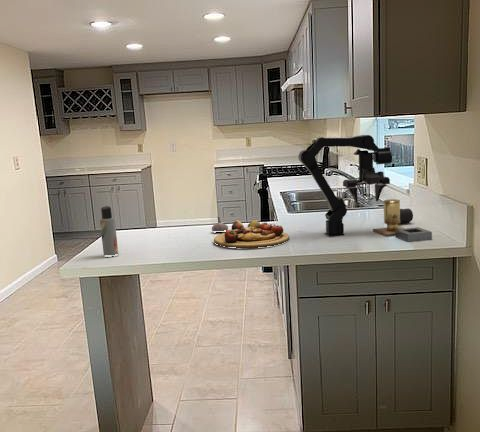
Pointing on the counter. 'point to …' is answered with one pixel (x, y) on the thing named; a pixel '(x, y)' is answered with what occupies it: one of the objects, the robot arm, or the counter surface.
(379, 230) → the walnut board
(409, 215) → the end cap
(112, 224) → the lotion bottle
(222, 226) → the garlic bulb
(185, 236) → the counter surface
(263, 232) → the wooden plate with food
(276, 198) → the counter surface
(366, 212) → the counter surface
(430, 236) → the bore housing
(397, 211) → the end plug
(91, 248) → the counter surface
